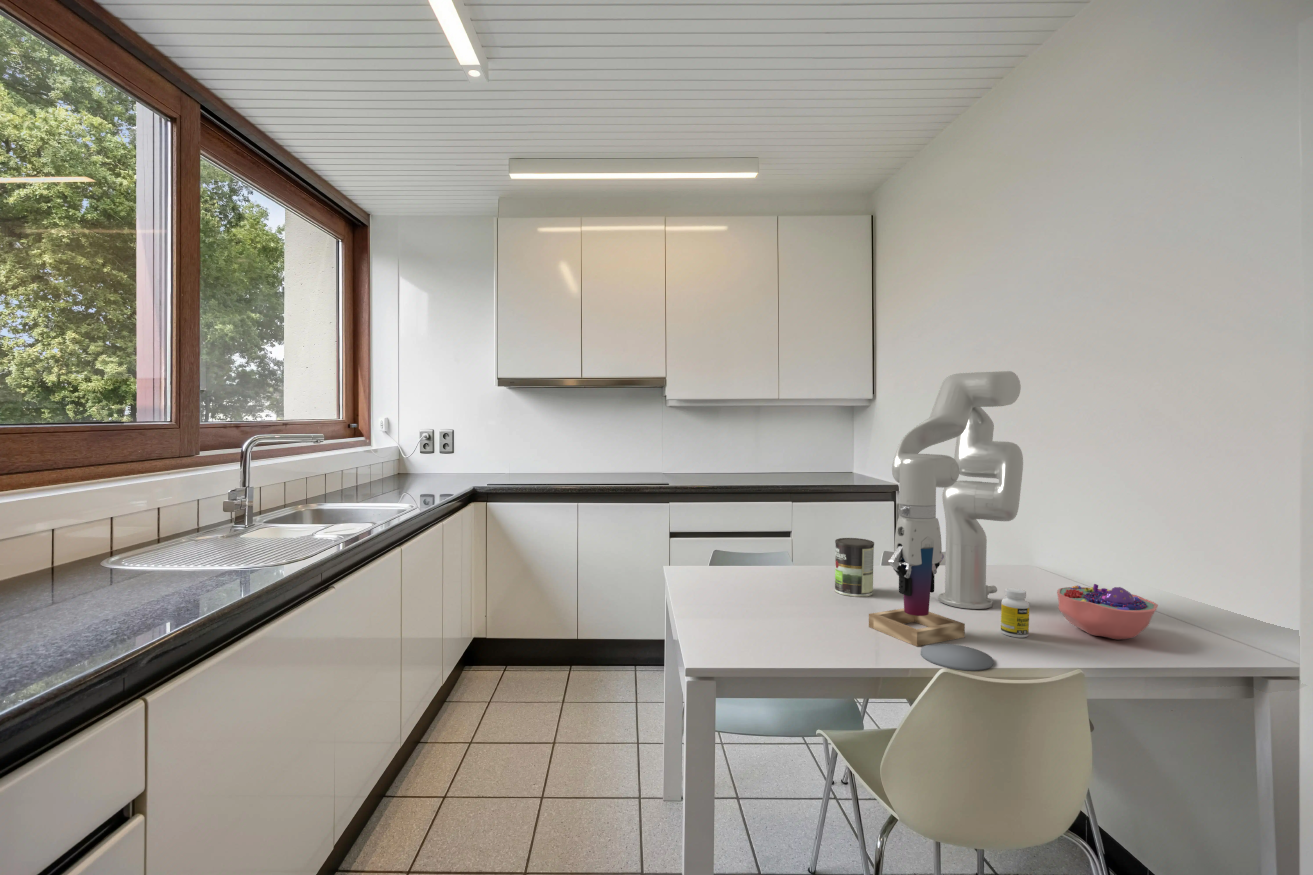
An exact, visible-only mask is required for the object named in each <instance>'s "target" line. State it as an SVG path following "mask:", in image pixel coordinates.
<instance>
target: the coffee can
mask: <svg viewBox="0 0 1313 875" xmlns="http://www.w3.org/2000/svg"><path fill="white" fill-rule="evenodd" d="M834 543H835V560H834V561H835V563H834V564H835V565H834V566H835V568H834V569H835V570H834V572H835V573H834V591H835V593H837V594H839V595H843V596H846V597H855V598H866V597H870V596H872V595H873V596H874V558H875V557H874V556H875V555H874V554H875V552H874V551H875V550H874V549H875V542H874V540H870V539H866V538H859V537H858V538H857V537H841V538H836V539H835V540H834Z"/></svg>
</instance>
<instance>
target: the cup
mask: <svg viewBox="0 0 1313 875" xmlns="http://www.w3.org/2000/svg"><path fill="white" fill-rule="evenodd" d="M932 559H933V547H932V548H928V549H921V560H922V564H921V565H919V566H912V570H911V574H910V578H912V595H911V596H907V595H903V594H902V596H903V608H904V612H905V613H907V614H910V615H915V616H925V615H928V614H929V612H930V599H931V592H930V589H931V576H932ZM903 562H905V560H904V558H903ZM906 567H907V566H905V565H904V569H905V570H906Z"/></svg>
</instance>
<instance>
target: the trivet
mask: <svg viewBox="0 0 1313 875" xmlns="http://www.w3.org/2000/svg"><path fill="white" fill-rule="evenodd" d="M920 656H921V657H922V658H923V659H924V660H926V661H928V662H930V663H931V664H934V665H937V666H940V667H943V668H947V669H953V670H958V671H967V672H968V671H971V672H973V671H984V670H985V671H986V670H988V669H991V667H993V665H994V659H993V658H992V656H991V655H990V654H988V653H986V652H984V651H982V650H980V649H976V648H973V647H969V646H967V645H960V644H953V643H932V644H927V645H923V646H922V647H921V648H920Z"/></svg>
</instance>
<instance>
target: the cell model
mask: <svg viewBox="0 0 1313 875" xmlns="http://www.w3.org/2000/svg"><path fill="white" fill-rule="evenodd" d="M1056 594H1057V600H1058V607H1057V608H1058V610H1059V612H1060V613H1061V614H1062V616H1064V618H1065V619H1066V620H1067V622H1069V623H1070V624H1071V625H1073V626H1074V627H1076V628H1078V629H1079V630H1082V631H1083V632H1085V633H1087V634H1089V635H1092V636H1095V637H1104V638H1107V639H1110V640H1120V641H1121V640H1127V639H1133V638H1135V637H1136V636H1138V635H1139V634H1140V633H1142V632H1143V631H1144V630H1146V629H1147V628H1148V626H1149V625H1150V624H1151V622H1152V619H1153V617H1154V614H1155V612H1156V611H1157V608H1158V607H1159V604H1158V603H1156V602H1154V601H1152V600H1149V599H1146V598H1144V597H1143V596H1139V595H1137V594H1132V593H1131V592H1130V591H1128V590H1126V589H1125V588H1123V587H1121V586H1118V587H1117V586H1115V587H1112V588H1111V589H1108V588H1105V587H1103V588H1099V584H1096V583H1094V584H1093V586H1091V587H1085V586H1084V587H1083V586H1081V585H1079V584H1078V585H1074V586H1071V587H1070V586H1069V587H1067V586H1066V587H1060V588H1058V589H1057V591H1056Z"/></svg>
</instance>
